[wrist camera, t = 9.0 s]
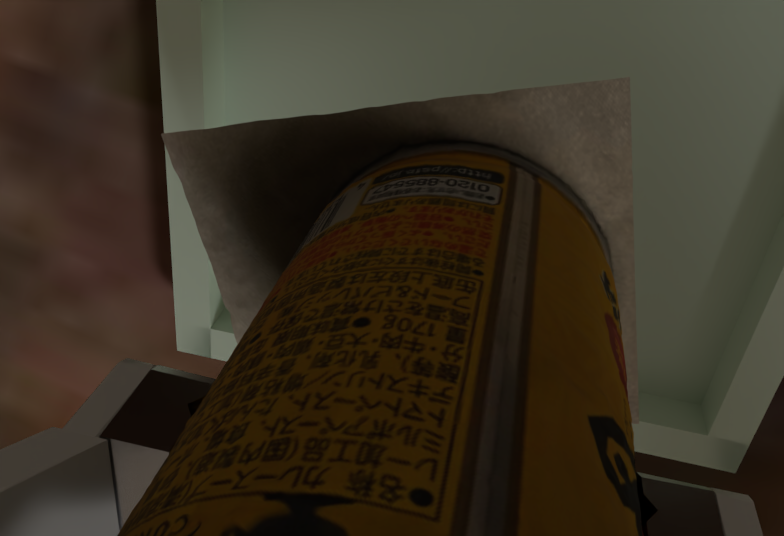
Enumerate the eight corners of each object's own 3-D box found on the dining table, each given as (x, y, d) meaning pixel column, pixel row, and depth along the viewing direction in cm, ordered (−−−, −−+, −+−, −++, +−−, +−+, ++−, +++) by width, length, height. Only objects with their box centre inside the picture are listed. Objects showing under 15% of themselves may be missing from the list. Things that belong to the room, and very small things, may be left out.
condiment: (638, 416, 16) (772, 1512, 5) (265, 418, 18) (-132, 1201, 8) (629, 72, 12) (941, 1308, 2) (168, 127, 14) (-788, 850, 4)
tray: (724, 428, 24) (735, 473, 23) (202, 317, 26) (177, 350, 25) (977, -122, 16) (1026, -116, 14) (182, -221, 18) (142, -225, 16)
